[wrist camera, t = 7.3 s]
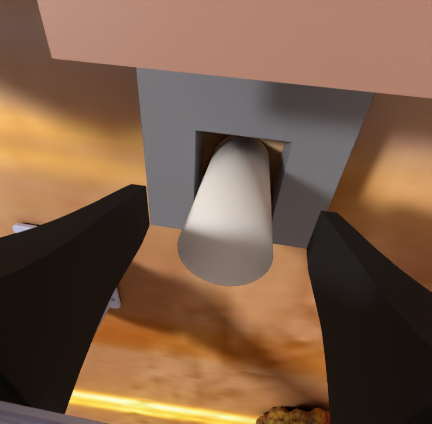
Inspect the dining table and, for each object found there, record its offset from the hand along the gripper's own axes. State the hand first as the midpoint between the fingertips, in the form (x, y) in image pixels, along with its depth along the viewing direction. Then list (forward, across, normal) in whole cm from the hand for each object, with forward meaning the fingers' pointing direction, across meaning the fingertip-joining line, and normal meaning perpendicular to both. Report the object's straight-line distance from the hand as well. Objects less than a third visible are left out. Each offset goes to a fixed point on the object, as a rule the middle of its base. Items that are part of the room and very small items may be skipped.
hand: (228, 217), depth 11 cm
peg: (+6, 0, 0) cm, 6 cm away
